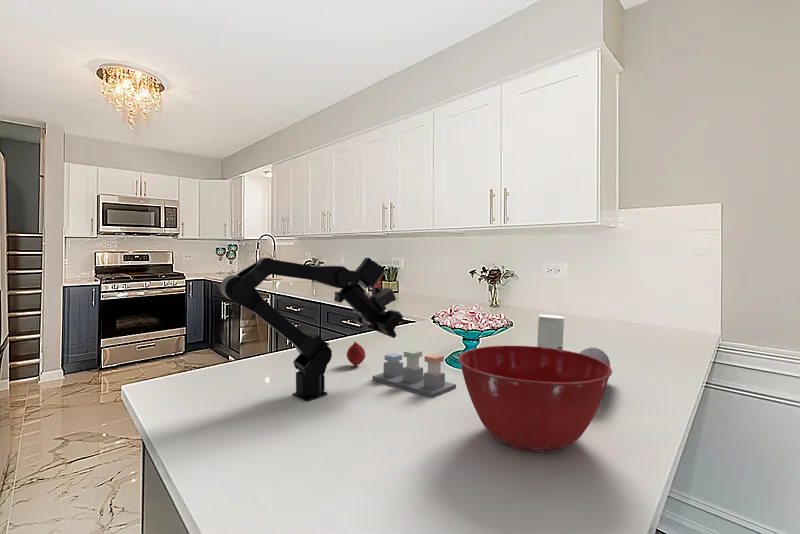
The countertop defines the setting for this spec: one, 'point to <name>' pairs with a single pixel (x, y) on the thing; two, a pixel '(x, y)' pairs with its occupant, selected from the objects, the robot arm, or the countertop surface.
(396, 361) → the key
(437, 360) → the key
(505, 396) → the mixing bowl
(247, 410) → the countertop surface
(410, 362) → the key
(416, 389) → the key console
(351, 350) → the onion
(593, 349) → the bluetooth speaker
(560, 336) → the skincare box
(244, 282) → the robot arm
